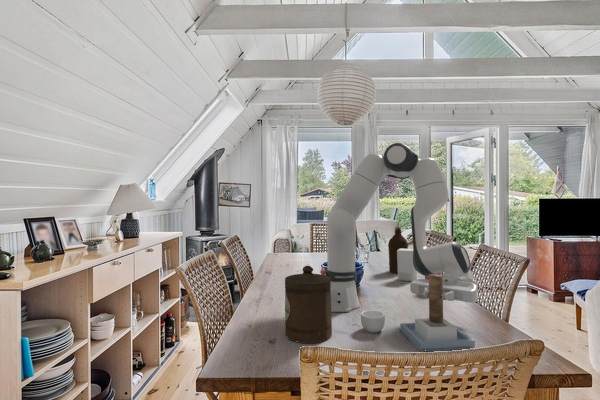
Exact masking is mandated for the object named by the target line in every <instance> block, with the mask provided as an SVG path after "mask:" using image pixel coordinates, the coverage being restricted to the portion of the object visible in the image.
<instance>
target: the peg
mask: <svg viewBox="0 0 600 400" xmlns="http://www.w3.org/2000/svg"><path fill="white" fill-rule="evenodd" d="M442 293H443V276H442V274H441V275H439V274H430V275H429V297H428V315H429V316H428V318H429V321H430V322H432V323H443V319H444V300H442V299H441V298H442V296H441V295H442Z"/></svg>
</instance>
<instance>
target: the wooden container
mask: <svg viewBox="0 0 600 400" xmlns="http://www.w3.org/2000/svg"><path fill="white" fill-rule="evenodd" d="M313 272H314V268H313V267H312V266H310V265H305V266H303V267H302V273H296V274H291V275H288V276H286V277H285V278H284V286H285V287H284V296H285V297H284V321H285V322H284V323H285V325H284V327H285V329H284V330H285V332H284V333H285V337H286V336H287V337H288V338H289V339H288V338H287V337H286V338H287V339H288V340H290V339H292V340H294V341H293V342H295V341H298V342H297V343H299V342H305V343H304V344H316V342H318V343H321V342H325V341H328V340H329V339H330V338H331V337H332V335H333V334H332V333H333V332H332V331H333V330H332V329H333V326H332V322H333V321H332V317H333V316H332V315H333V314H332V313H333V312H331V289H330V288H331V281H330V277H328V276H325V275H322V274H321V273H320V274H319V273H313ZM292 340H291V341H292ZM324 340H325V341H324Z"/></svg>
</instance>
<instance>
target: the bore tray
mask: <svg viewBox="0 0 600 400" xmlns="http://www.w3.org/2000/svg"><path fill="white" fill-rule="evenodd" d="M399 325H400V326H399V327H400V329H399V331H400V332H401V334H402V335H404V337H405V338H407V340H409V341H410V343H412V344H413V346H414V347H416V348H417V350H419V351H420V350H421V351H425V350H426V351H432V352H446V351H445V350H450V351H460V350H459V349H468V350H471V349H470V348H475V349H476V346H475V345H476V343H475V342H476V341H475V339H473V338H472V337H471V336H469V335H468V334H466V333H465V332H463V331H462V330H461V329H459V328H457V327H456V326H455V325H453V324H452V323H451V322H449V321H448V320H447V319H444V318H443V323H432V322H430V321H429V317H428V318H414V322H403V323H401V322H400V324H399ZM421 351H420V352H421Z"/></svg>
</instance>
